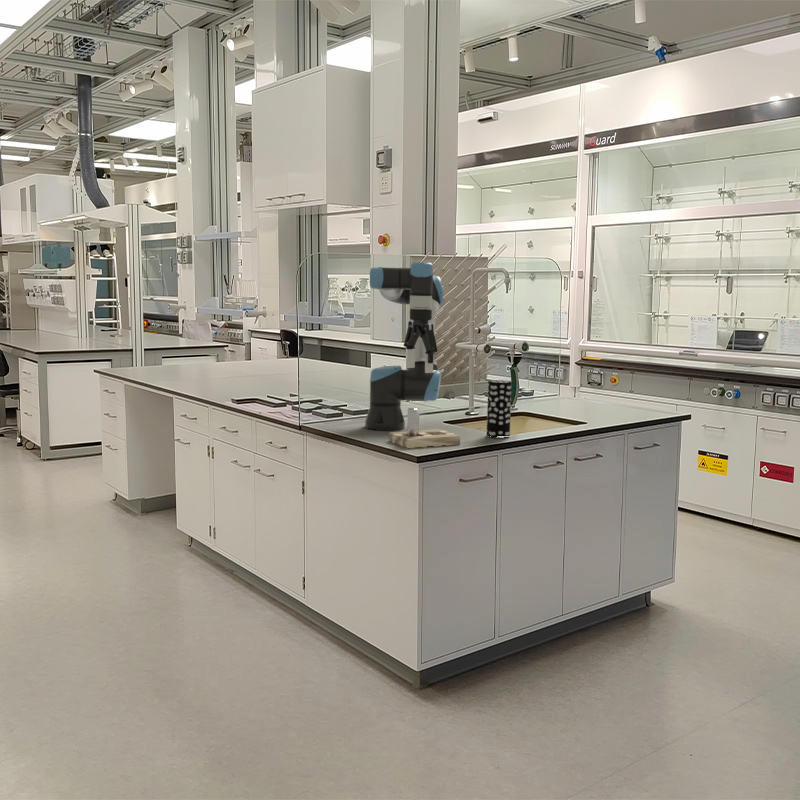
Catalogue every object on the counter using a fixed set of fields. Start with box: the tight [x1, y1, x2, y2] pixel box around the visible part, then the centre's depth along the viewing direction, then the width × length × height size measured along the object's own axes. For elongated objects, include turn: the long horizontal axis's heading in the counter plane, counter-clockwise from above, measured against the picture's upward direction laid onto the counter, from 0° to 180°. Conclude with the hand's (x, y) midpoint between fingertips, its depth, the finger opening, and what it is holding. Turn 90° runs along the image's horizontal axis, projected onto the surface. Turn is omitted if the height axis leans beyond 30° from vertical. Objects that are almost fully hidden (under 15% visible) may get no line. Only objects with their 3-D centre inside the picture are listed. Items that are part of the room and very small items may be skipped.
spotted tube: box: [486, 379, 513, 438], centre depth 285 cm, size 8×8×20 cm
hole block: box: [388, 428, 461, 449], centre depth 272 cm, size 14×20×3 cm
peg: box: [406, 407, 420, 437], centre depth 269 cm, size 4×4×12 cm
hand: (419, 370), depth 273 cm, fingers open, 13 cm apart
